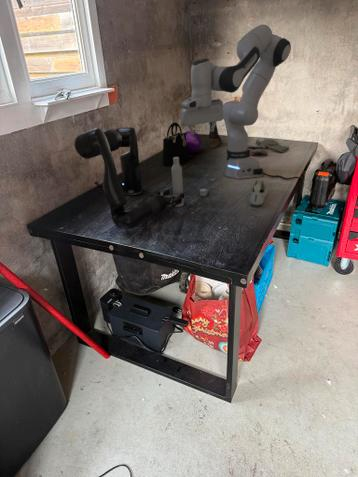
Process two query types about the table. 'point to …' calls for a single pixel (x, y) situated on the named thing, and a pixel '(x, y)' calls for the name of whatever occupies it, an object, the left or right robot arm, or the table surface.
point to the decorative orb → (192, 142)
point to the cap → (203, 192)
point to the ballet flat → (258, 193)
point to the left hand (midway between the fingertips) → (176, 193)
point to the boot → (214, 137)
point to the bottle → (177, 179)
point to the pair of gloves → (267, 144)
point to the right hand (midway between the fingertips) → (202, 133)
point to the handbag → (174, 146)
